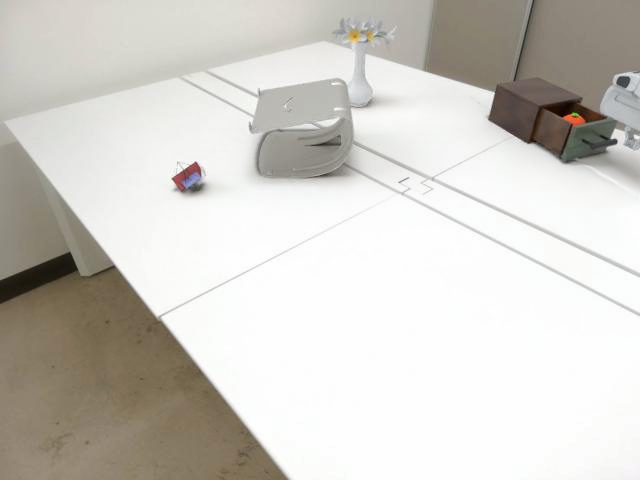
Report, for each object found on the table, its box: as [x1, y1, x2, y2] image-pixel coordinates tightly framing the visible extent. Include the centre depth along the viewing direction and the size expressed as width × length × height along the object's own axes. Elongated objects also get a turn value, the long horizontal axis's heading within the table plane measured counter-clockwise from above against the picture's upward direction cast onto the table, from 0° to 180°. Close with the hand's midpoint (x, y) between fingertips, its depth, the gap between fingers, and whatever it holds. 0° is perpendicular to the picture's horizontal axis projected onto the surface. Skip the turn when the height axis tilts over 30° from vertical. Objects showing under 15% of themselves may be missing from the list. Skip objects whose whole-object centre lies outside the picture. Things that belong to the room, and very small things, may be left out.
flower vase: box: [331, 14, 398, 108], centre depth 137 cm, size 13×18×25 cm
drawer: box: [532, 102, 619, 161], centre depth 116 cm, size 20×13×9 cm
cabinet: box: [487, 76, 584, 145], centre depth 127 cm, size 17×15×11 cm
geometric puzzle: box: [170, 160, 207, 192], centre depth 104 cm, size 7×7×8 cm
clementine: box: [563, 113, 586, 141], centre depth 118 cm, size 8×7×7 cm
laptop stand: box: [248, 77, 355, 179], centre depth 114 cm, size 26×24×16 cm
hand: (630, 147), depth 103 cm, fingers closed
